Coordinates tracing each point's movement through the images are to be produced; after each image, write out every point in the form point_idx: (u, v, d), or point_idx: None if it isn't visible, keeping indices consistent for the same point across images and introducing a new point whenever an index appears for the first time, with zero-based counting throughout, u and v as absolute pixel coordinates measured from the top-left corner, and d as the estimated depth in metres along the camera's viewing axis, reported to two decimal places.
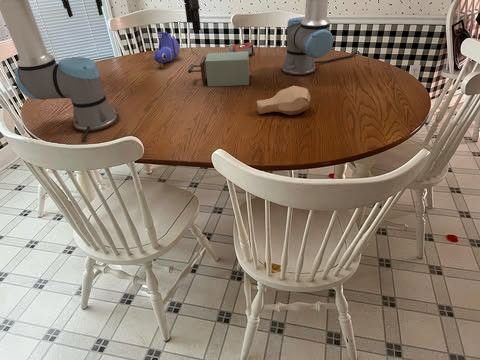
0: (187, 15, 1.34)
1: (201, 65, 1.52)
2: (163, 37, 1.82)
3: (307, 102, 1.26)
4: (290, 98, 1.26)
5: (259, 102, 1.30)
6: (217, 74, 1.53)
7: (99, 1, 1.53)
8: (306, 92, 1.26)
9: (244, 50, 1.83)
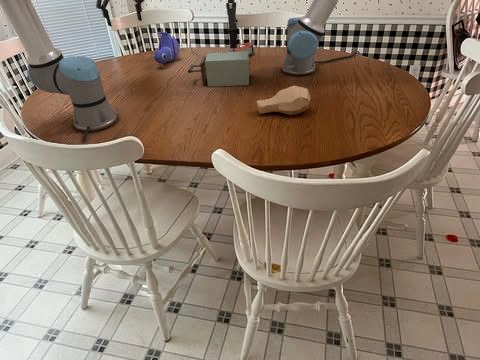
0: None
1: (201, 65, 1.52)
2: (163, 37, 1.82)
3: (307, 102, 1.26)
4: (290, 98, 1.26)
5: (259, 102, 1.30)
6: (217, 74, 1.53)
7: (140, 6, 1.54)
8: (306, 92, 1.26)
9: (244, 50, 1.83)
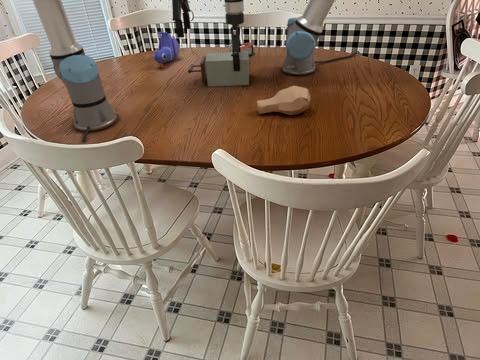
0: None
1: (201, 65, 1.52)
2: (163, 37, 1.82)
3: (307, 102, 1.26)
4: (290, 98, 1.26)
5: (259, 102, 1.30)
6: (217, 74, 1.53)
7: None
8: (306, 92, 1.26)
9: (244, 50, 1.83)
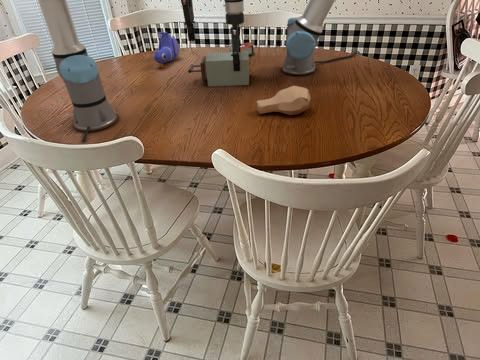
0: None
1: (201, 65, 1.52)
2: (163, 37, 1.82)
3: (307, 102, 1.26)
4: (290, 98, 1.26)
5: (259, 102, 1.30)
6: (217, 74, 1.53)
7: None
8: (306, 92, 1.26)
9: (244, 50, 1.83)
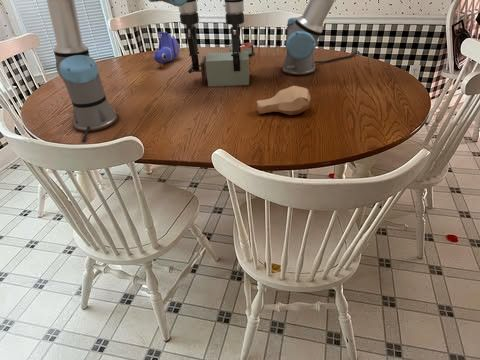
0: None
1: (201, 65, 1.52)
2: (163, 37, 1.82)
3: (307, 102, 1.26)
4: (290, 98, 1.26)
5: (259, 102, 1.30)
6: (217, 74, 1.53)
7: None
8: (306, 92, 1.26)
9: (244, 50, 1.83)
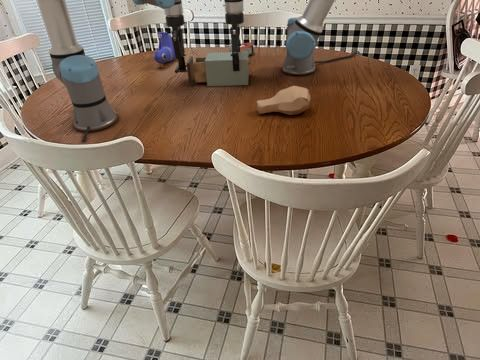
0: None
1: (187, 65, 1.52)
2: (163, 37, 1.82)
3: (307, 102, 1.26)
4: (290, 98, 1.26)
5: (259, 102, 1.30)
6: (216, 74, 1.53)
7: None
8: (306, 92, 1.26)
9: (244, 50, 1.83)
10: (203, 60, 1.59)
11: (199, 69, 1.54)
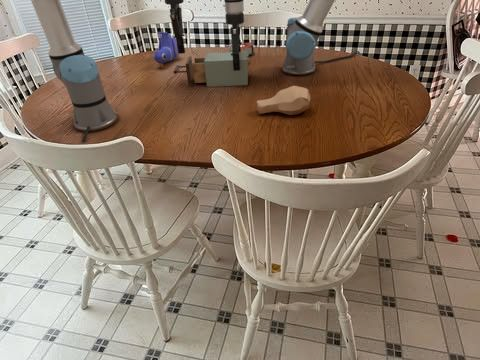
0: None
1: (186, 66, 1.52)
2: (163, 37, 1.82)
3: (307, 102, 1.26)
4: (290, 98, 1.26)
5: (259, 102, 1.30)
6: (216, 74, 1.53)
7: None
8: (306, 92, 1.26)
9: (244, 50, 1.83)
10: (202, 60, 1.59)
11: (198, 69, 1.54)
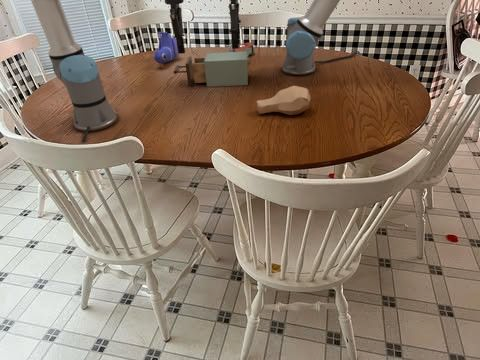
0: None
1: (186, 66, 1.52)
2: (163, 37, 1.82)
3: (307, 102, 1.26)
4: (290, 98, 1.26)
5: (259, 102, 1.30)
6: (216, 74, 1.53)
7: None
8: (306, 92, 1.26)
9: (244, 50, 1.83)
10: (202, 60, 1.59)
11: (198, 70, 1.54)
